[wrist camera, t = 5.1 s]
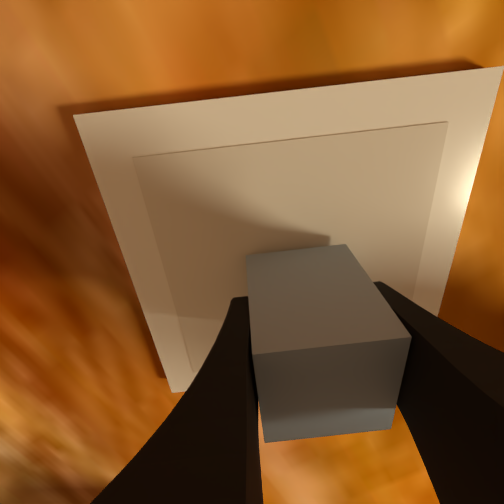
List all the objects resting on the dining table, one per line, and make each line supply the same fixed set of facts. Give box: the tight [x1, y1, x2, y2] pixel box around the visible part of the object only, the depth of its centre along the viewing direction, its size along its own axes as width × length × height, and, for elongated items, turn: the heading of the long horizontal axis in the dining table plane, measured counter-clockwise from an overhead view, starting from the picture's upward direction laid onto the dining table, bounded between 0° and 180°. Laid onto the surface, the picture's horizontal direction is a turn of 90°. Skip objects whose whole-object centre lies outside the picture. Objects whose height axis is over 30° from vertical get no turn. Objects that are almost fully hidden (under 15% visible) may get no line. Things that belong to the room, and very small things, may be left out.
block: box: [246, 244, 412, 443], centre depth 11 cm, size 4×4×5 cm
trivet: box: [73, 66, 504, 393], centre depth 13 cm, size 14×14×1 cm
